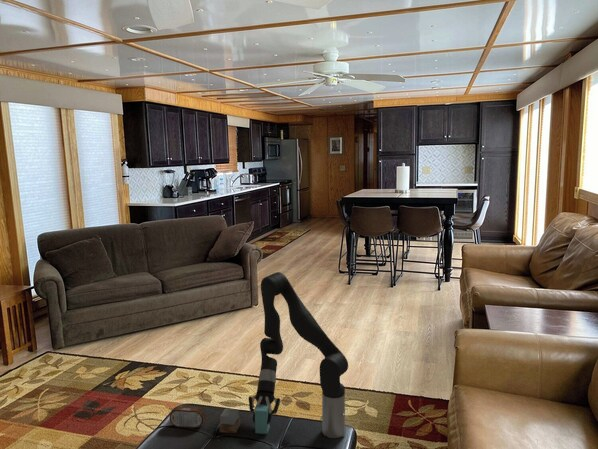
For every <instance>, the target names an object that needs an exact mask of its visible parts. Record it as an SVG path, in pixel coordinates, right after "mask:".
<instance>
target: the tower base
mask: <svg viewBox="0 0 598 449" xmlns="http://www.w3.org/2000/svg"><path fill="white" fill-rule="evenodd" d="M240 426H241V416H239V418H238V420H237V421H236V423H235V425H228V424H221V422H220V423H219V433H227V434H237V433H238V430H239V428H240Z"/></svg>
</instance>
